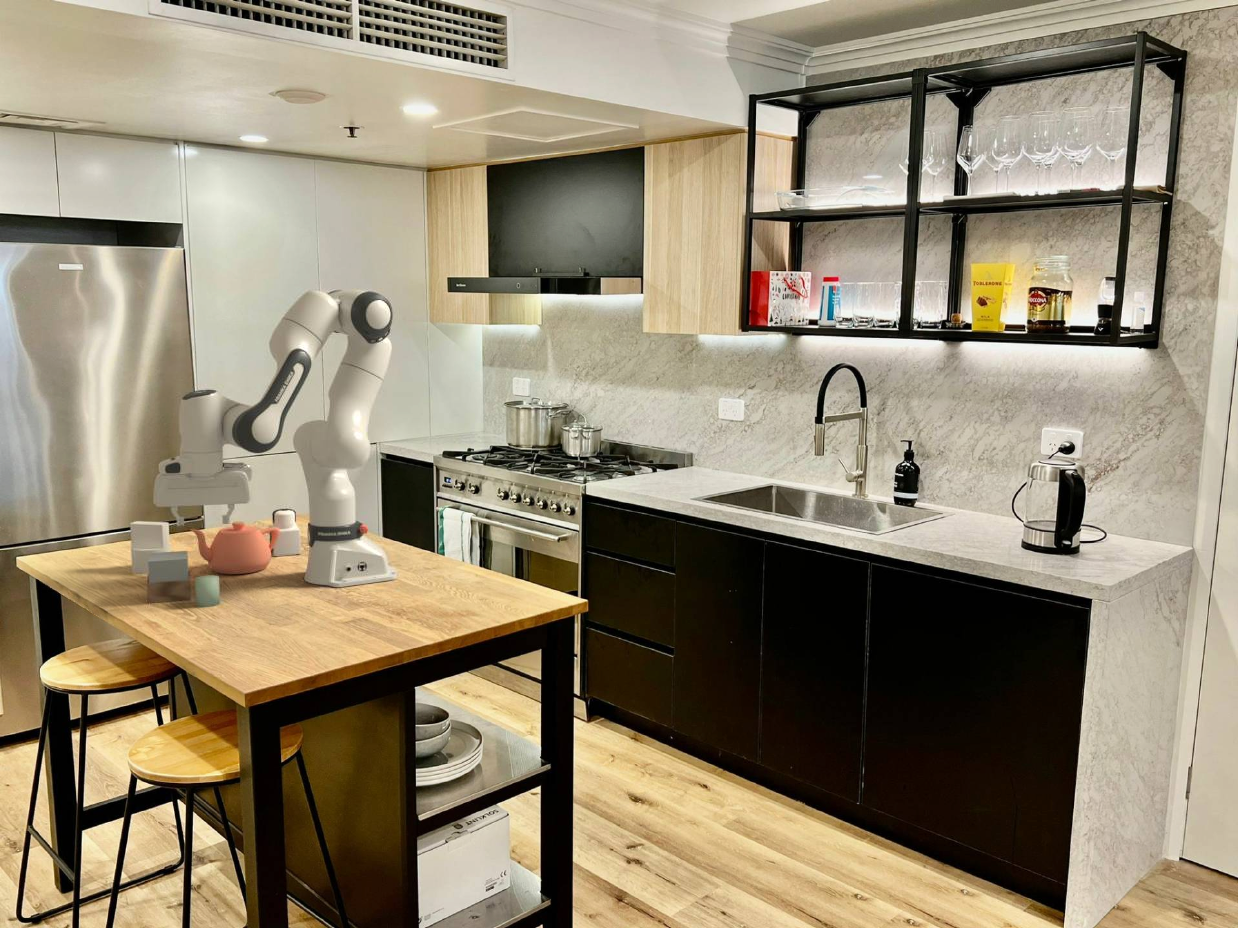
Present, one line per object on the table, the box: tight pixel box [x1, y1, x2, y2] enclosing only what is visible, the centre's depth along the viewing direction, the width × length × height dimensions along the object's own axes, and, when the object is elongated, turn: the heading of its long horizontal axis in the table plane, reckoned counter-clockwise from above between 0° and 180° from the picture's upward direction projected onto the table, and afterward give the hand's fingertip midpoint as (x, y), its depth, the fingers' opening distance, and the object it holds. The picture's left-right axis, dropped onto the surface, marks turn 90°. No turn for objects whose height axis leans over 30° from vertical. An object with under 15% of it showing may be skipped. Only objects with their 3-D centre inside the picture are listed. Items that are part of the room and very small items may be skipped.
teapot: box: [189, 521, 280, 575], centre depth 261 cm, size 22×15×12 cm
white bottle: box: [268, 508, 302, 557], centre depth 279 cm, size 7×7×12 cm
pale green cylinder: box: [194, 574, 221, 608], centre depth 232 cm, size 5×5×6 cm
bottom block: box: [146, 570, 192, 605], centre depth 237 cm, size 9×9×5 cm
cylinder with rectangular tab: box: [129, 520, 171, 575], centre depth 260 cm, size 9×9×12 cm
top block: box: [148, 550, 189, 583], centre depth 236 cm, size 8×8×5 cm
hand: (203, 524), depth 230 cm, fingers open, 8 cm apart
